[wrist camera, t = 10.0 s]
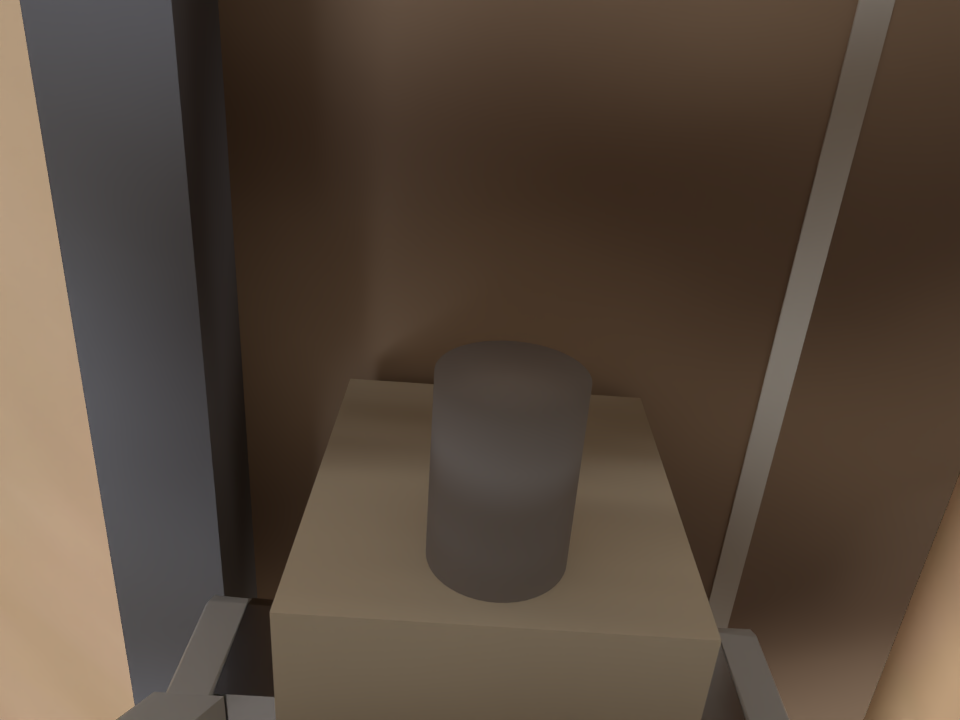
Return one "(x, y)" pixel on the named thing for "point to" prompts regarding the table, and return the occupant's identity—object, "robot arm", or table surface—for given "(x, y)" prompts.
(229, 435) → the board
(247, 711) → the robot arm
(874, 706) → the table surface
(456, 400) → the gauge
